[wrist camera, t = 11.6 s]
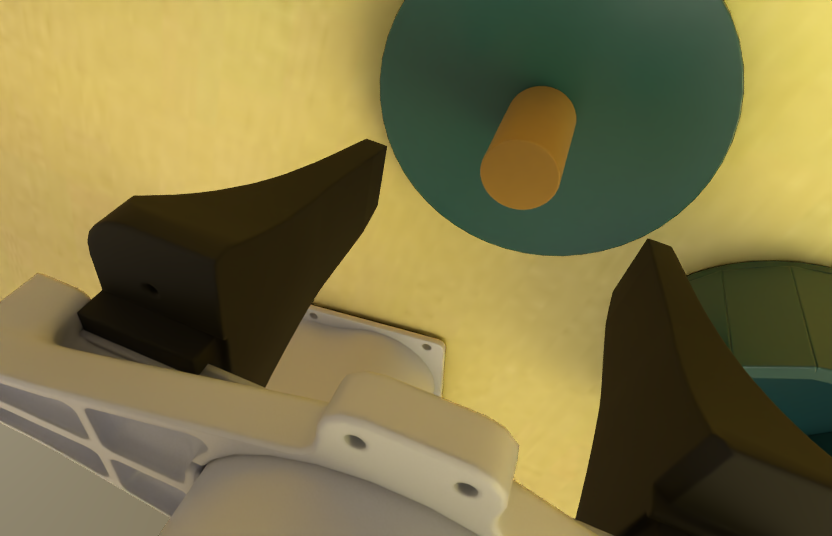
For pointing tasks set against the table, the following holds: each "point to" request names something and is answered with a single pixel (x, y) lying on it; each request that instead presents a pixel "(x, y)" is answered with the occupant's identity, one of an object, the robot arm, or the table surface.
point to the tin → (778, 333)
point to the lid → (561, 114)
